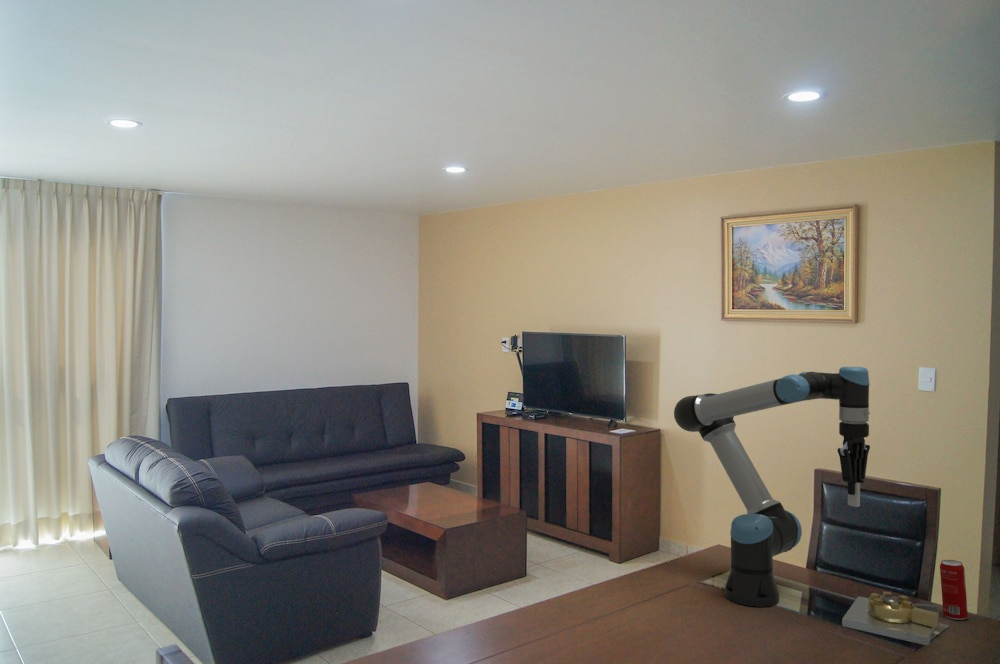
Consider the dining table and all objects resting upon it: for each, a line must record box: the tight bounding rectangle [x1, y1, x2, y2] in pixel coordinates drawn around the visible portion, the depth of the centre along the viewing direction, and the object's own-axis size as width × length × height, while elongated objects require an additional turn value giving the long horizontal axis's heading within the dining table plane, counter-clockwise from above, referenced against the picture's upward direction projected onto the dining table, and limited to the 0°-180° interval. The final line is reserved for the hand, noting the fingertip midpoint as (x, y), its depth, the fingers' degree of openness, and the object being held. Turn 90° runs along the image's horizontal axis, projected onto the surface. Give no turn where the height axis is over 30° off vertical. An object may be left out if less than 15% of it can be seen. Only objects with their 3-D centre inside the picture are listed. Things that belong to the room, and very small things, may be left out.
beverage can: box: [939, 559, 969, 621], centre depth 201 cm, size 6×6×15 cm
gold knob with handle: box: [867, 590, 939, 629], centre depth 195 cm, size 16×11×4 cm, turn 44°
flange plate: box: [841, 595, 940, 647], centre depth 196 cm, size 20×20×6 cm
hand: (853, 505), depth 205 cm, fingers closed
